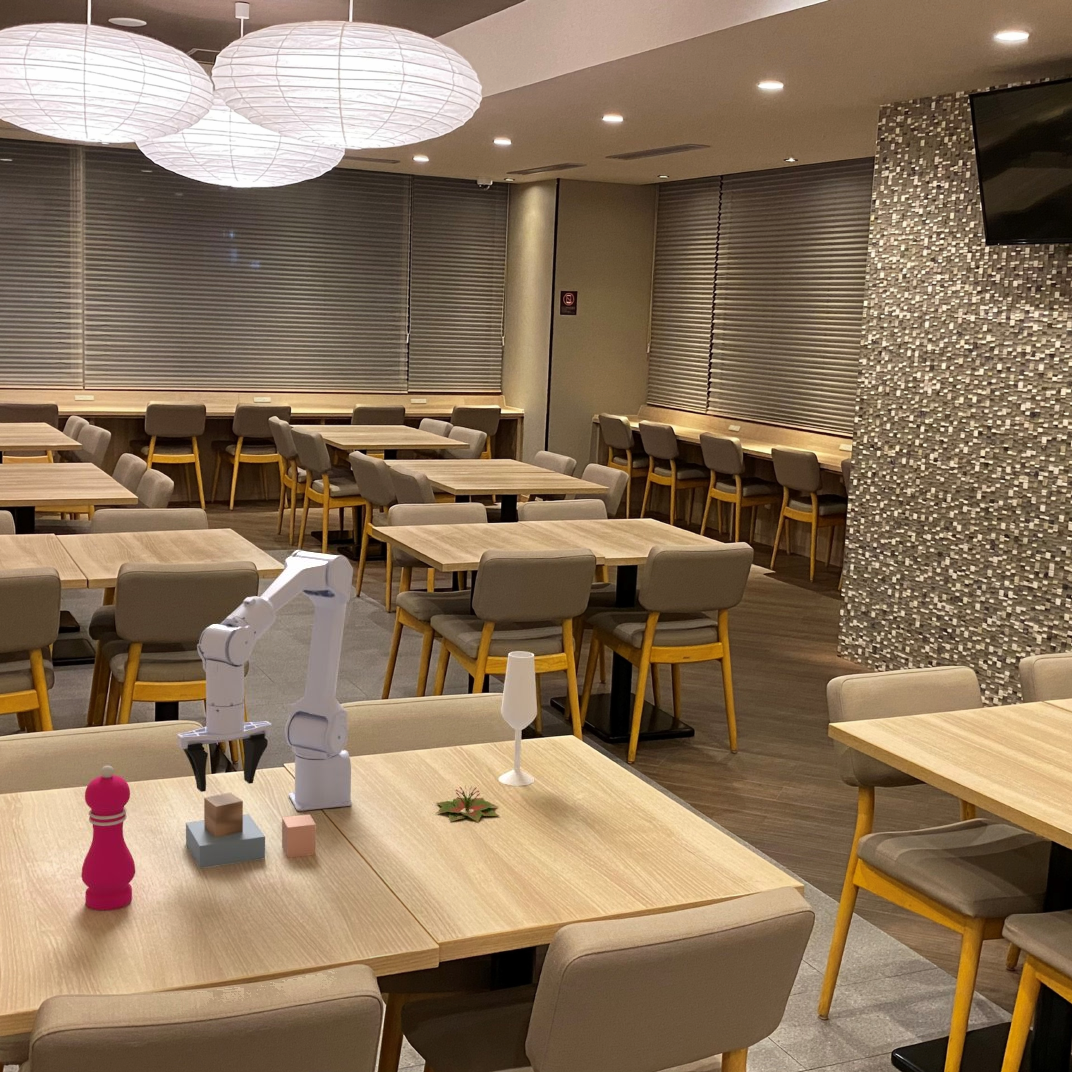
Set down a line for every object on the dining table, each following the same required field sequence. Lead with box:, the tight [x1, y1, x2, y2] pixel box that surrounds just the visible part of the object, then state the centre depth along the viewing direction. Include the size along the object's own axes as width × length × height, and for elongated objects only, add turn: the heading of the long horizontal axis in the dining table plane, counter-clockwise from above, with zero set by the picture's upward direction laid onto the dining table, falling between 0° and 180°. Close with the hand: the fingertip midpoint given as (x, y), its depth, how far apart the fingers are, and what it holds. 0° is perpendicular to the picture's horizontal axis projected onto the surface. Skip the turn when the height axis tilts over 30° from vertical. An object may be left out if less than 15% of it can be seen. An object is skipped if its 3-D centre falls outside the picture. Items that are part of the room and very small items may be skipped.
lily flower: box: [435, 785, 500, 823], centre depth 217 cm, size 12×12×5 cm
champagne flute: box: [498, 650, 538, 787], centre depth 232 cm, size 7×7×24 cm
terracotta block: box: [281, 814, 317, 859], centre depth 197 cm, size 4×4×5 cm
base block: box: [185, 813, 266, 869], centre depth 196 cm, size 10×10×4 cm
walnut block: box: [203, 792, 244, 837], centre depth 195 cm, size 4×4×5 cm
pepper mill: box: [80, 765, 136, 911], centre depth 176 cm, size 7×7×20 cm
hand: (225, 785), depth 196 cm, fingers open, 7 cm apart
